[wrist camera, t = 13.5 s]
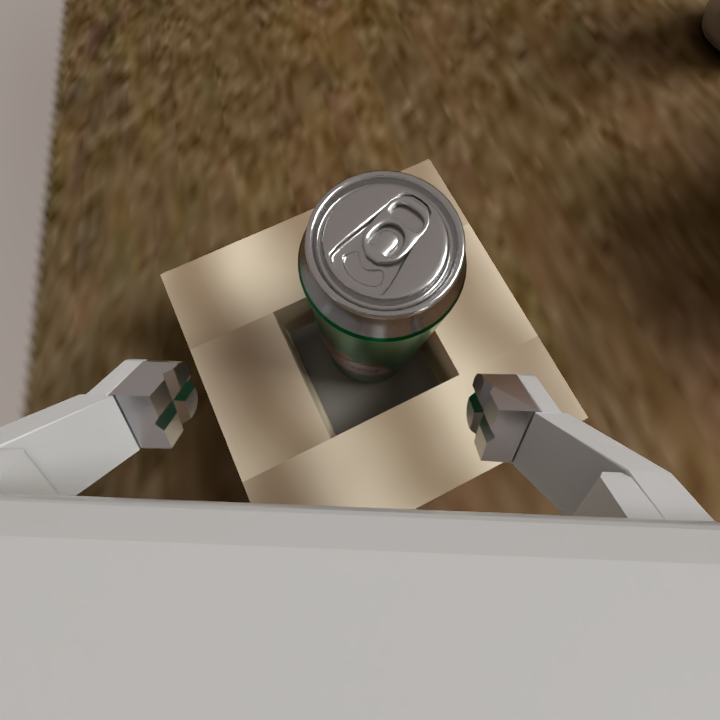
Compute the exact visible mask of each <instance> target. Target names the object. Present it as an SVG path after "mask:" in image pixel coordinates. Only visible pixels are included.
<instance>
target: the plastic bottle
mask: <svg viewBox="0 0 720 720" xmlns="http://www.w3.org/2000/svg"><path fill="white" fill-rule="evenodd" d="M702 30H703V33H704V35H705V37H706V38H707V40H708V41H709V42H710V43H711V44H712V45H713V46H714V47H715V48H717V49H718V50H720V0H709V1H708V2H707V5H706V8H705V11H704V15H703V19H702Z"/></svg>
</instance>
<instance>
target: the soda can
mask: <svg viewBox="0 0 720 720" xmlns="http://www.w3.org/2000/svg"><path fill="white" fill-rule="evenodd" d="M465 246H466V243H465V233H464V229H463V226H462V222H461V220H460V218H459V215H458V213H457V211H456V210H455V208H454V207H453V205H452V204H451V202H450V201H449V200H448V199H447V198H446V196H445V195H444V194H443V193H442V192H440V191H439V190H438V189H437V188H436V187H434V186H433V185H431V184H430V183H428V182H426V181H425V180H423V179H421V178H418V177H416V176H413V175H411V174H407V173H403V172H398V171H390V170H379V171H370V172H364V173H361V174H358V175H354V176H352V177H350V178H347V179H345V180H343V181H341V182H340V183H338V184H337V185H335V186H334V187H332V188H331V189H330V190H329V191H328V192H327V193H326V194H325V195H324V196H323V197H322V198H321V200H320V201H319V202H318V203H317V205H316V207H315V208H314V210H313V212H312V214H311V216H310V219H309V222H308V225H307V228H306V230H305V232H304V234H303V237H302V240H301V242H300V247H299V252H298V272H299V278H300V282H301V285H302V288H303V291H304V294H305V296H306V299H307V301H308V303H309V306H310V308H311V311H312V313H313V316H314V318H315V321H316V323H317V325H318V328H319V330H320V333H321V335H322V338H323V340H324V343H325V345H326V347H327V350H328V352H329V355H330V357H331V359H332V361H333V363H334V365H335V366H336V367H337V369H338V370H339V371H340V372H341V373H342V374H343V375H345V376H346V377H348V378H350V379H352V380H354V381H357V382H360V383H367V384H370V383H379V382H383V381H385V380H388V379H390V378H392V377H393V376H395V375H396V374H397V373H398V372H399V371H400V370H401V369H402V368H403V367H404V366H405V364H406V363H407V362H408V361H409V360H410V359H411V357H412V356H413V355H414V354H415V353H416V351H417V350H418V349H419V348H420V347H421V346H422V344H423V343H424V342H425V341H426V340H427V338H428V337H429V336H430V335H431V334H432V333H433V331H434V330H435V329H436V328H437V327H438V326H439V324H440V323H441V322H442V321H443V320H444V318H445V317H446V316H447V315H448V314H449V313H450V311H451V310H452V308H453V307H454V305H455V304H456V302H457V301H458V299H459V297H460V294H461V292H462V290H463V287H464V283H465V279H466V270H467V260H466V251H465Z"/></svg>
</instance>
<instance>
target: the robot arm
mask: <svg viewBox="0 0 720 720" xmlns="http://www.w3.org/2000/svg"><path fill="white" fill-rule="evenodd" d="M190 376H191V372H190V369H189V366H188V364H186V363H184V362H181V361H164V360H146V359H129V360H125V361H124V362H122V363H121V364H120V365H119V366H118V367H117V368H116V369H114V370H113V371H112V372H111V373H110V374H109V375H108V376H107V377H105V378H104V379H103V380H102V381H101V382H100V383H99V384H97V385H96V386H95V387H94V388H93V389H92V390H91V391H90V392H88V393H87V394H86V395H83V394H80V395H77V396H75V397H72V398H70V399H68V400H65V401H63V402H60V403H58V404H55V405H53V406H51V407H48V408H46V409H43V410H41V411H38V412H36V413H34V414H31V415H29V416H26V417H24V418H21V419H19V420H17V421H14V422H12V423H9V424H7V425H4V426H2V427H0V720H720V522H715V521H714V520H713V519H712V518H711V517H710V516H709V515H708V513H707V512H706V511H705V510H704V509H703V508H702V507H701V506H700V505H699V503H698V502H697V501H696V500H695V499H694V498H693V497H692V496H691V495H690V494H689V492H688V491H687V490H686V489H685V488H684V487H683V486H682V485H681V484H680V483H679V481H678V480H677V479H676V478H675V477H674V476H673V475H672V474H671V473H670V472H668V471H666V470H664V469H663V468H661V467H659V466H658V465H656V464H654V463H652V462H651V461H649V460H647V459H646V458H644V457H642V456H640V455H639V454H637V453H635V452H634V451H632V450H630V449H628V448H627V447H625V446H623V445H622V444H620V443H618V442H616V441H615V440H613V439H611V438H610V437H608V436H606V435H604V434H603V433H601V432H599V431H598V430H596V429H594V428H592V427H591V426H589V425H587V424H586V423H584V422H582V421H580V420H579V419H577V418H575V417H574V416H572V415H570V414H568V413H562V412H561V411H560V409H559V408H558V407H557V405H556V404H555V402H554V401H553V400H552V398H551V397H550V395H549V394H548V393H547V391H546V390H545V388H544V387H543V386H542V384H541V383H540V381H539V380H538V379H537V377H536V376H534V375H532V374H482V373H477V374H476V376H475V378H474V381H473V384H472V386H473V388H474V390H475V393H473V394H472V395H471V396H470V397H469V399H468V403H467V411H466V417H467V423H468V426H469V429H470V430H471V431H472V432H473V433H475V434H476V436H475V440H474V443H475V446H476V449H477V452H478V454H479V457H480V460H481V461H494V462H509V463H513V465H514V466H515V467H516V468H517V469H518V470H519V471H520V472H521V473H522V474H523V475H524V476H525V477H526V478H527V479H528V480H529V481H530V482H531V483H532V484H533V485H534V486H535V487H536V488H537V489H538V490H539V491H540V492H541V493H542V494H543V495H544V496H545V497H546V498H547V499H548V500H549V501H550V502H551V503H553V504H554V505H555V506H556V507H557V508H558V509H559V510H560V511H561V512H562V513H563V514H564V515H540V514H515V513H490V512H466V511H441V510H416V509H391V508H366V507H341V506H316V505H291V504H266V503H242V502H217V501H192V500H167V499H142V498H117V497H92V496H76V495H77V494H79V493H80V492H82V491H83V490H84V489H86V488H87V487H89V486H90V485H91V484H93V483H94V482H96V481H97V480H98V479H100V478H101V477H102V476H104V475H105V474H107V473H108V472H109V471H111V470H112V469H114V468H115V467H116V466H118V465H119V464H121V463H122V462H123V461H125V460H126V459H128V458H129V457H130V456H132V455H133V454H134V453H136V452H137V451H139V450H140V448H172V447H173V446H174V444H175V443H176V441H177V439H178V438H179V436H180V435H181V433H182V432H183V426H182V424H183V423H184V422H186V421H188V420H189V419H191V418H192V416H193V414H194V413H195V411H196V407H197V403H198V394H197V390H196V387H195V386H194V385H193V384H192V383H191V382H190V381H188V379H189V378H190Z"/></svg>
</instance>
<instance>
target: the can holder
mask: <svg viewBox="0 0 720 720" xmlns="http://www.w3.org/2000/svg"><path fill="white" fill-rule="evenodd" d="M400 172H403V173H407V174H411V175H413V176H416V177H418V178H421V179H423V180H425V181H426V182H428V183H430V184H431V185H433V186H434V187H436V188H437V189H438V190H439V191H440V192H442V193H443V194H444V195H445V196H446V198H447V199H448V200H449V201H450V202H451V204H452V205H453V207H454V208H455V210H456V211H457V213H458V215H459V218H460V220H461V222H462V226H463V229H464V233H465V243H466V246H465V251H466V260H467V270H466V279H465V283H464V287H463V290H462V292H461V294H460V297H459V299H458V301H457V302H456V304H455V305H454V307H453V308H452V310H451V311H450V313H449V314H448V315H447V316H446V317H445V318H444V320H443V321H442V322H441V323H440V324H439V326H438V327H437V328H436V329H435V330H434V331H433V333H432V334H431V335H430V336H429V337H428V338H427V340H426V341H425V342H424V343H423V344H422V346H421V347H420V348H419V349H418V350H417V351H416V353H415V354H414V355H413V356H412V357H411V359H410V360H409V361H408V362H407V363H406V364H405V366H404V367H403V368H402V369H401V370H400V371H399V372H398V373H397V374H396V375H395V376H393V377H392V378H390V379H388V380H385V381H383V382H379V383H370V384H367V383H360V382H357V381H354V380H352V379H350V378H348V377H346V376H345V375H343V374H342V373H341V372H340V371H339V370H338V369H337V367H336V366H335V365H334V363H333V361H332V359H331V357H330V355H329V352H328V350H327V347H326V345H325V343H324V340H323V338H322V335H321V333H320V330H319V328H318V325H317V323H316V321H315V318H314V316H313V313H312V311H311V308H310V306H309V303H308V301H307V299H306V296H305V294H304V291H303V288H302V285H301V282H300V278H299V272H298V252H299V247H300V242H301V240H302V237H303V234H304V232H305V230H306V228H307V225H308V222H309V219H310V216H311V214H312V212H313V210H314V209H312V210H309V211H307V212H305V213H302V214H300V215H298V216H296V217H293V218H291V219H289V220H286V221H284V222H282V223H279V224H277V225H275V226H272V227H270V228H268V229H265V230H263V231H261V232H258V233H256V234H254V235H251V236H249V237H247V238H244V239H242V240H240V241H237V242H235V243H233V244H230V245H228V246H226V247H223V248H221V249H219V250H216V251H214V252H212V253H209V254H207V255H205V256H202V257H200V258H198V259H196V260H193V261H191V262H189V263H186V264H184V265H182V266H179V267H177V268H175V269H172V270H170V271H168V272H165V273H163V274H161V278H162V280H163V283H164V285H165V288H166V290H167V293H168V296H169V298H170V301H171V303H172V306H173V308H174V311H175V313H176V316H177V318H178V321H179V323H180V326H181V328H182V331H183V334H184V336H185V339H186V341H187V344H188V346H189V349H190V351H191V354H192V356H193V359H194V361H195V364H196V366H197V369H198V372H199V374H200V377H201V379H202V382H203V384H204V387H205V389H206V392H207V394H208V397H209V399H210V402H211V404H212V407H213V410H214V412H215V415H216V417H217V420H218V422H219V425H220V427H221V430H222V432H223V435H224V437H225V440H226V442H227V445H228V448H229V450H230V453H231V455H232V458H233V460H234V463H235V465H236V468H237V470H238V473H239V475H240V478H241V480H242V483H243V486H244V488H245V491H246V493H247V496H248V498H249V501H250V503H266V504H291V505H316V506H341V507H366V508H391V509H416V508H418V507H419V506H421V505H423V504H425V503H427V502H429V501H431V500H433V499H435V498H437V497H438V496H440V495H442V494H444V493H446V492H448V491H450V490H452V489H454V488H456V487H457V486H459V485H461V484H463V483H465V482H467V481H469V480H471V479H473V478H474V477H476V476H478V475H480V474H482V473H484V472H486V471H488V470H490V469H492V468H493V467H495V466H497V465H499V464H501V463H503V462H494V461H481V460H480V457H479V454H478V452H477V449H476V446H475V443H474V440H475V436H476V434H475V433H473V432H472V431H471V430H470V429H469V426H468V423H467V417H466V411H467V403H468V399H469V397H470V396H471V395H472V394H473V393H475V390H474V388H473V386H472V384H473V381H474V378H475V376H476V374H477V373H482V374H532V375H534V376H536V377H537V379H538V380H539V381H540V383H541V384H542V386H543V387H544V388H545V390H546V391H547V393H548V394H549V395H550V397H551V398H552V400H553V401H554V402H555V404H556V405H557V407H558V408H559V409H560V411H561V412H562V413H568V414H570V415H572V416H574V417H575V418H577V419H579V420H580V421H583V420H584V419H586V418H588V417H587V415H586V414H585V412H584V411H583V409H582V407H581V406H580V404H579V402H578V401H577V399H576V397H575V396H574V394H573V393H572V391H571V389H570V388H569V386H568V384H567V383H566V381H565V380H564V378H563V376H562V375H561V373H560V371H559V370H558V368H557V366H556V365H555V363H554V362H553V360H552V358H551V357H550V355H549V353H548V352H547V350H546V349H545V347H544V345H543V344H542V342H541V340H540V339H539V337H538V335H537V334H536V332H535V331H534V329H533V327H532V326H531V324H530V322H529V321H528V319H527V318H526V316H525V314H524V313H523V311H522V309H521V308H520V306H519V305H518V303H517V301H516V300H515V298H514V296H513V295H512V293H511V291H510V290H509V288H508V287H507V285H506V283H505V282H504V280H503V278H502V277H501V275H500V274H499V272H498V270H497V269H496V267H495V265H494V264H493V262H492V260H491V259H490V257H489V256H488V254H487V252H486V251H485V249H484V247H483V246H482V244H481V243H480V241H479V239H478V238H477V236H476V234H475V233H474V231H473V229H472V228H471V226H470V225H469V223H468V221H467V220H466V218H465V216H464V215H463V213H462V212H461V210H460V208H459V207H458V205H457V203H456V202H455V200H454V198H453V197H452V195H451V194H450V192H449V190H448V189H447V187H446V185H445V184H444V182H443V181H442V179H441V177H440V176H439V174H438V172H437V171H436V169H435V167H434V166H433V164H432V163H431V161H430V159H428V160H426V161H423V162H421V163H419V164H416V165H414V166H412V167H409V168H407V169H405V170H402V171H400Z"/></svg>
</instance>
